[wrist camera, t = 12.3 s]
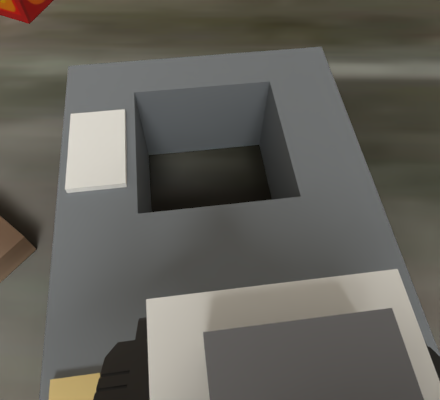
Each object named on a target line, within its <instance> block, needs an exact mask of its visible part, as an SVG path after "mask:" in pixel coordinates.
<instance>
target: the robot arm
mask: <svg viewBox="0 0 440 400" xmlns="http://www.w3.org/2000/svg"><path fill="white" fill-rule="evenodd" d="M425 343H426V342H425ZM426 346H427V343H426ZM427 349H428V351H429V354H430V357H431V359H432V362H433V365H434V367H435V370H436V373H437V375H438V378H439V381H440V356H439V355H438V354H437V353H436V352H435V351H434V350H433V349H432V348H431V347H428V346H427ZM93 400H150V397H149V369H148V341H147V317H143V318H139V320H138V325H137V331H136V337H135V340H131V341H123V342H117V344H116V345H115V346H114V347H113V348H112V350H111V351H110V352H109V353H108V354H107V355H106V357H105V358H104V362H103V366H102V369H101V373H100V378H99V380H98V384H97V387H96V393H95V394H94V398H93Z"/></svg>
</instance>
